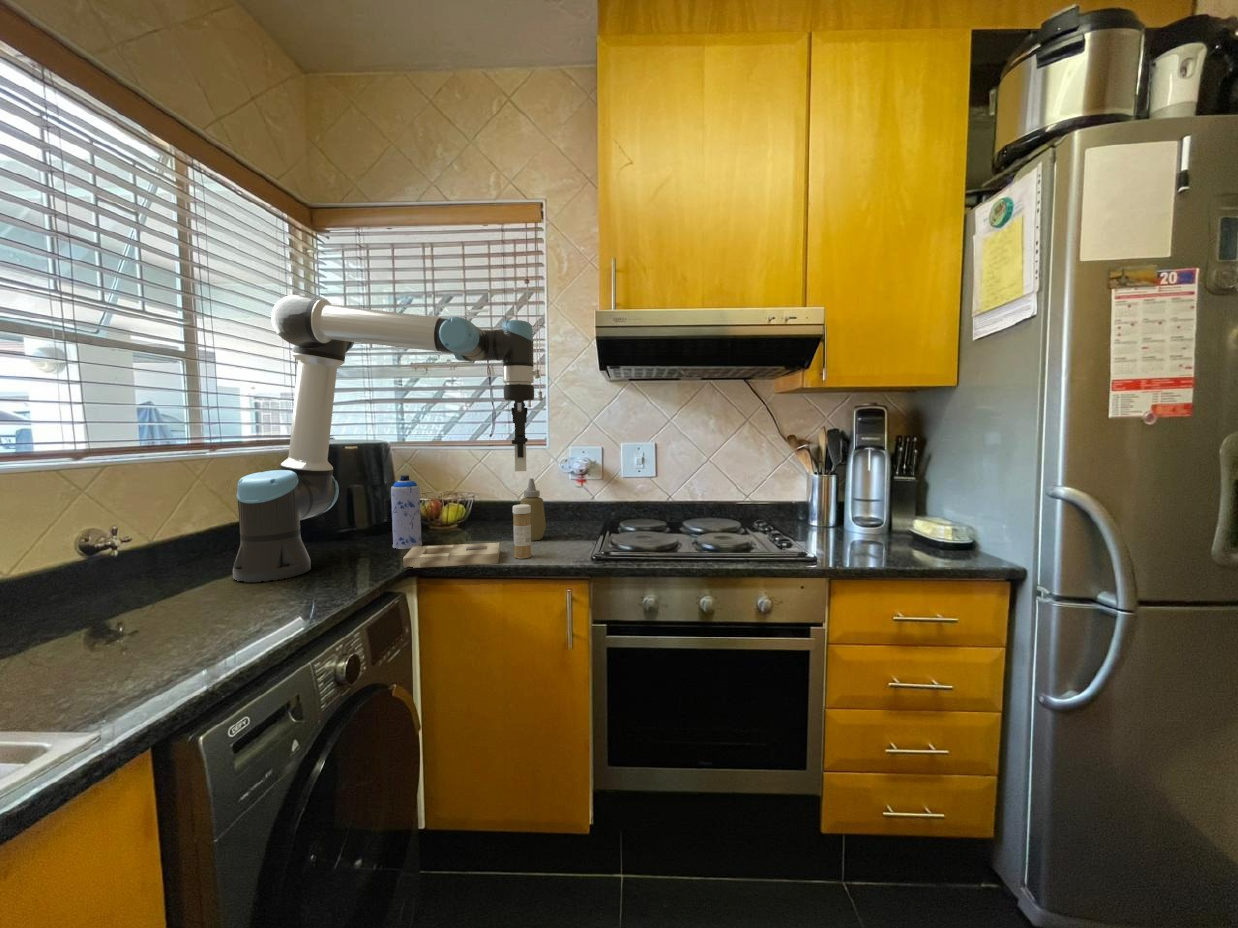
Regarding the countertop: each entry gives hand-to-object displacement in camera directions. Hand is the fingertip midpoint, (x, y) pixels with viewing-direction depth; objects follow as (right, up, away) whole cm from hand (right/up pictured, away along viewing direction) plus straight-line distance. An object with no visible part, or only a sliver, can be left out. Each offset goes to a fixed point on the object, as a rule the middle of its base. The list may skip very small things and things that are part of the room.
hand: (520, 469), depth 135 cm
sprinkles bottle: (0, -23, +2) cm, 23 cm away
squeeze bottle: (-1, -21, +23) cm, 31 cm away
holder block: (-17, -23, 0) cm, 28 cm away
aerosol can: (-35, -22, +16) cm, 44 cm away
